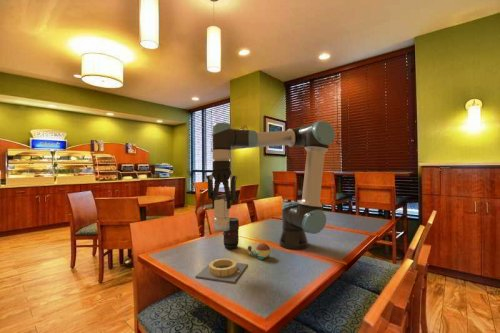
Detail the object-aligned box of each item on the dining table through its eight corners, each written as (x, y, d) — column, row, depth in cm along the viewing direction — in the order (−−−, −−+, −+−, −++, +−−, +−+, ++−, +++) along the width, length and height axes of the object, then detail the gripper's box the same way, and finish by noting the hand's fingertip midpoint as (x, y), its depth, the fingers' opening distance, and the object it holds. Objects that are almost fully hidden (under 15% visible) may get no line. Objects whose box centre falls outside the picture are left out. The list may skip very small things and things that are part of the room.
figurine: (259, 254, 116) (257, 241, 117) (274, 256, 109) (271, 241, 110) (248, 259, 111) (246, 244, 112) (262, 261, 104) (260, 246, 105)
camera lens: (236, 250, 119) (236, 221, 119) (221, 249, 120) (221, 220, 120) (240, 245, 127) (240, 217, 127) (226, 244, 128) (225, 217, 128)
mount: (247, 265, 101) (247, 258, 101) (234, 283, 86) (234, 275, 86) (213, 261, 106) (213, 254, 106) (195, 277, 90) (195, 269, 90)
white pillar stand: (232, 227, 101) (232, 194, 101) (224, 233, 93) (224, 196, 93) (219, 226, 103) (219, 193, 103) (209, 231, 95) (209, 196, 95)
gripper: (243, 160, 99) (243, 215, 99) (207, 160, 104) (207, 213, 104) (237, 159, 92) (237, 219, 92) (199, 160, 97) (199, 216, 97)
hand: (221, 215), depth 98 cm, fingers closed on white pillar stand, 4 cm apart
